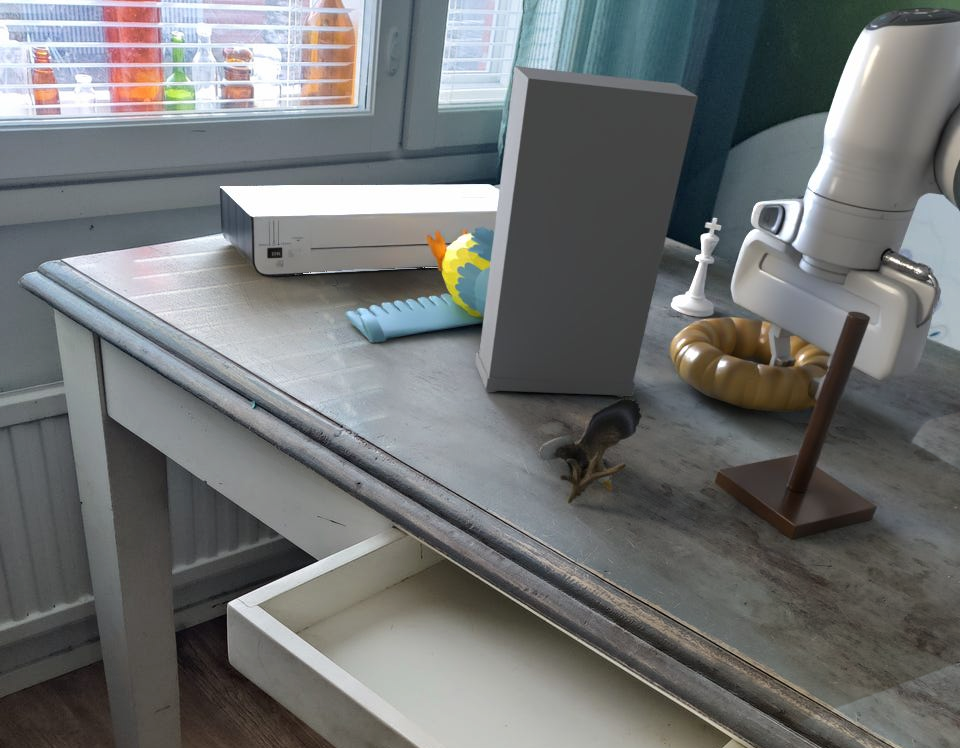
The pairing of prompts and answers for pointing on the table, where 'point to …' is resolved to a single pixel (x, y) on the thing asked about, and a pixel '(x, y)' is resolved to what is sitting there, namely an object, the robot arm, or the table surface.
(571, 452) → the eagle figurine
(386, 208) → the laminator
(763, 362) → the bread ring
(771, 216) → the robot arm
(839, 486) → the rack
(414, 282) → the table surface
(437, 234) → the blue yellow toy
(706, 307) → the chess piece
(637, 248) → the gray rectangular block
